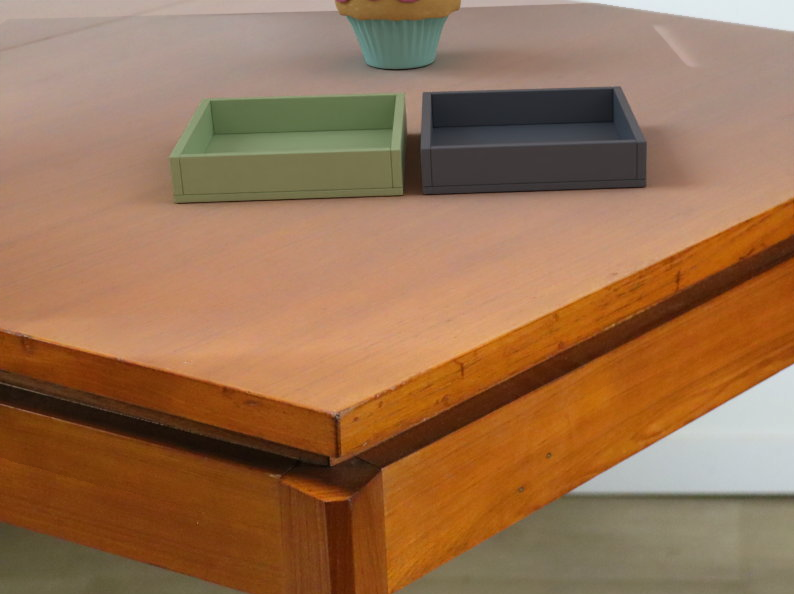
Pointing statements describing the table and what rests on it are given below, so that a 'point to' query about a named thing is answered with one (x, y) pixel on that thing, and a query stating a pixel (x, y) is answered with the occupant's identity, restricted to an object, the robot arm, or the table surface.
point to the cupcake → (397, 29)
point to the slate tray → (530, 140)
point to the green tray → (292, 148)
